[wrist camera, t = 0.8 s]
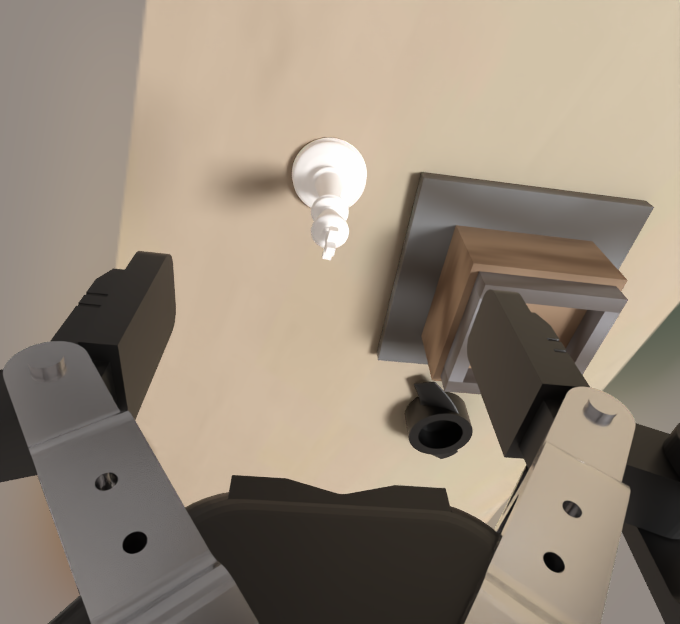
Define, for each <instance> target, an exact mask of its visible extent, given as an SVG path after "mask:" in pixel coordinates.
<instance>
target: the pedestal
mask: <svg viewBox="0 0 680 624" xmlns="http://www.w3.org/2000/svg"><path fill="white" fill-rule="evenodd" d="M653 208H654V207H653V206H652V205H650V204H649V203H648V202H647V201H642V200H634V199H626V198H619V197H611V196H603V195H595V194H588V193H580V192H572V191H564V190H556V189H549V188H541V187H533V186H525V185H518V184H510V183H502V182H494V181H487V180H479V179H471V178H463V177H456V176H448V175H440V174H432V173H424V172H421V176H420V180H419V184H418V188H417V192H416V197H415V201H414V205H413V209H412V213H411V217H410V221H409V225H408V229H407V233H406V237H405V241H404V245H403V249H402V253H401V257H400V261H399V265H398V269H397V273H396V277H395V282H394V286H393V290H392V294H391V298H390V302H389V306H388V310H387V314H386V318H385V322H384V326H383V330H382V334H381V338H380V342H379V346H378V350H377V356H378V360H383V361H395V362H406V363H418V364H428V366H429V370H430V374H431V378H432V380H434V381H442V383H443V387H444V391H447V392H459V393H472V394H481V393H480V390H479V387H478V385H477V382H476V379H475V377H474V374H473V371H472V368H471V366H470V363H469V360H468V357H467V342H468V337H469V334H470V331H471V328H472V326H473V323H474V320H475V318H476V315H477V312H478V310H479V307H480V304H481V301H482V299H483V296H484V294H485V293H486V291H487V290H489V289H492V290H502V291H511V292H518V293H519V294H520V295H521V296H522V298H523V300H524V301H525V303H526V305H527V306H528V308H529V310H530V311H531V312H533V313H536V314H538V315H539V316H540V317H541V318H542V319H544V320H545V321H546V322H547V323H548V324H549V325H551V327H552V328H553V330H554V331H555V333H556V335H557V336H558V338H559V342H562V344H563V346H564V347H565V349H566V353H569V355H570V357H571V358H572V360H573V361H574V363H575V364H576V366H577V368H578V369H579V371H580V372H581V374H582V375H583V373H584V371H585V370H586V368H587V367H588V365H589V363H590V362H591V360H592V358H593V357H594V355H595V353H596V352H597V350H598V348H599V347H600V345H601V344H602V342H603V340H604V339H605V337H606V335H607V334H608V332H609V330H610V329H611V327H612V326H613V324H614V322H615V321H616V319H617V317H618V316H619V314H620V312H621V311H622V309H623V308H624V306H625V304H626V303H627V301H628V299H627V298H626V297H625V296H624V295H623V293H622V292H621V291H622V289H623V287H624V285H625V284H626V282H627V279H626V278H625V277H624V276H623V275H622V274H621V272H620V271H619V268H620V266H621V264H622V263H623V261H624V259H625V257H626V256H627V254H628V252H629V250H630V248H631V247H632V245H633V243H634V241H635V240H636V238H637V236H638V234H639V233H640V231H641V229H642V227H643V226H644V224H645V222H646V220H647V219H648V217H649V215H650V213H651V212H652V210H653Z"/></svg>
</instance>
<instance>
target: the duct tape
mask: <svg viewBox="0 0 680 624" xmlns="http://www.w3.org/2000/svg"><path fill="white" fill-rule="evenodd" d="M414 386H415V388H416V390H417V392H418V395H419V397H417V398H415V399H414V400H413V401H412V402H411V403H410V404H409V405H408V406H407V408H406V411H405V418H406V424H407V430H408V437H409V441H410V444H411V445H412V446H413V447H414V448H415V449H416V450H418V451H420V452H423V453H426V454H431V455H434V456H436V457H438V458H440V459H443V458H447V457H449V456H452V455H454V454H455V453H456V452H458V451H457V450H458V449H460V448H461V447H463V446H464V445H465V444H466V443H467V442H468V441H469V440H470V438H471V436H472V426H471V423H470V419H469V416H468V413H467V409H466V406H465V403H464V401H463V400H462V399H461V398H460V397H459V396H457V395H455V394H453V393H450V392H444V391H443V390H442V389H441V387H440V386H439V385H438V384H437V383H436V382H423V383H417V384H414Z"/></svg>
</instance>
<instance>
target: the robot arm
mask: <svg viewBox="0 0 680 624" xmlns="http://www.w3.org/2000/svg"><path fill="white" fill-rule="evenodd" d="M175 315H176V303H175V288H174V273H173V261H172V257H171V255H170V254H162V253H153V252H144V251H138V252H136V254H135V255H134V257H133V258H132V260H131V261H130V263H129V264H128V266H127V267H126V269H125V270H122V269H112V270H110V271H109V272H107V273H105V274H104V275H102V276H100V277H99V278H97V279H96V280H95V281H94V283H93V284H92V285H91V287H90V288H89V289H88V291H87V293H86V295H84V296H83V298H82V299H81V300H80V302H79V305H78V306H76V307H75V308H74V310H73V311H72V313H71V314H70V315H69V317H68V318H67V319H66V321H65V322H64V323H63V325H62V326H61V327H60V329H59V330H58V331H57V333H56V334H55V336H54V337H53V338H52V340H51V341H50V342H44V343H40V344H36V345H33V346H30V347H28V348H26V349H24V350H22V351H20V352H18V353H17V354H15V355H14V356H13V357H12V358H11V359H10V360H9V361H8V362H7V363H6V365H5V367H4V369H3V370H0V482H4V481H9V480H14V479H19V478H24V477H29V476H34V475H38V478H39V481H40V484H41V487H42V489H43V492H44V495H45V498H46V501H47V503H48V506H49V509H50V512H51V515H52V518H53V520H54V523H55V526H56V529H57V532H58V535H59V537H60V540H61V543H62V546H63V549H64V552H65V554H66V557H67V560H68V563H69V566H70V569H71V571H72V574H73V577H74V580H75V583H76V586H77V589H78V591H79V594H80V596H79V597H78V598H77V599H75V600H74V601H73V602H72V603H71V604H70V605H68V606H67V607H66V608H65V609H64V610H63V611H62V612H60V613H59V614H58V615H57V616H56V617H55V618H54V619H53V620H51V621H50V622H49V623H48V624H601V621H602V616H603V612H604V607H605V603H606V599H607V594H608V590H609V585H610V581H611V577H612V572H613V567H614V563H615V559H616V554H617V550H618V545H619V541H620V537H621V532H622V533H623V535H624V537H625V539H626V541H627V543H628V546H629V548H630V550H631V552H632V554H633V556H634V558H635V560H636V563H637V565H638V567H639V569H640V571H641V573H642V575H643V577H644V580H645V582H646V584H647V586H648V588H649V590H650V592H651V594H652V596H653V599H654V601H655V603H656V605H657V607H658V609H659V611H660V613H661V616H662V618H663V620H664V622H665V624H680V423H679V424H678V425H677V426H676V427H675V429H674V430H673V431H672V433H671V434H668V433H665V432H662V431H659V430H655V429H652V428H649V427H646V426H643V425H639V424H636V423H635V420H634V417H633V415H632V414H631V412H630V411H629V410H628V408H627V407H626V406H625V405H623V403H621V402H620V401H619V400H617V399H616V398H614V397H613V396H611V395H609V394H607V393H605V392H603V391H601V390H598V389H595V388H590V386H589V385H588V383H587V382H586V380H585V378H584V377H583V375H582V374H581V372H580V371H579V369H578V368H577V366H576V364H575V363H574V361H573V360H572V358H571V357H570V355H569V353H566V349H565V347H564V346H563V344H562V342H559V338H558V336H557V335H556V333H555V331H554V330H553V328H552V327H551V325H549V324H548V323H547V322H546V321H545V320H544V319H542V318H541V317H540V316H539V315H538V314H536V313H533V312H531V311H530V310H529V308H528V306H527V305H526V303H525V301H524V300H523V298H522V296H521V295H520V294H519V293H518V292H511V291H502V290H492V289H489V290H487V291H486V293H485V294H484V296H483V299H482V301H481V304H480V307H479V310H478V312H477V315H476V318H475V320H474V323H473V326H472V328H471V331H470V334H469V337H468V342H467V357H468V360H469V363H470V366H471V368H472V371H473V374H474V377H475V379H476V382H477V385H478V387H479V390H480V393H481V395H482V398H483V401H484V403H485V406H486V409H487V412H488V414H489V417H490V420H491V422H492V425H493V428H494V430H495V433H496V436H497V439H498V441H499V444H500V447H501V449H502V452H503V455H504V457H508V458H523V459H524V460H525V462H526V467H525V468H524V470H523V472H522V474H521V476H520V478H519V480H518V482H517V484H516V486H515V488H514V490H513V492H512V494H511V496H510V498H509V500H508V503H507V504H506V507H505V509H504V511H503V513H502V515H501V517H500V519H499V521H498V523H497V525H496V527H495V529H492V528H491V527H490V526H488V525H487V524H485V523H484V522H482V521H481V520H479V519H478V518H476V517H474V516H472V515H470V514H468V513H466V512H464V511H462V510H459V509H457V508H454V507H451V506H450V505H449V501H448V497H447V492H446V488H431V487H414V486H398V485H394V486H388V487H383V488H377V489H372V490H366V491H361V492H355V493H350V494H337V493H333V492H330V491H327V490H323V489H320V488H317V487H313V486H310V485H307V484H303V483H300V482H296V481H293V480H290V479H286V478H270V477H254V476H238V475H232V479H231V484H230V490H229V492H227V493H222V494H217V495H214V496H211V497H207V498H204V499H202V500H200V501H197V502H195V503H193V504H191V505H189V506H187V507H184V505H183V503H182V502H181V500H180V498H179V496H178V495H177V493H176V491H175V489H174V488H173V486H172V484H171V482H170V481H169V479H168V477H167V475H166V474H165V472H164V470H163V468H162V467H161V465H160V463H159V461H158V460H157V458H156V456H155V455H154V453H153V451H152V449H151V448H150V446H149V444H148V442H147V441H146V439H145V437H144V435H143V434H142V432H141V430H140V428H139V427H138V425H137V423H136V421H135V419H136V417H137V414H138V412H139V410H140V407H141V405H142V403H143V400H144V398H145V395H146V393H147V391H148V388H149V386H150V383H151V381H152V379H153V376H154V374H155V371H156V369H157V367H158V364H159V362H160V360H161V357H162V355H163V352H164V350H165V348H166V345H167V343H168V340H169V338H170V336H171V333H172V331H173V327H174V323H175Z"/></svg>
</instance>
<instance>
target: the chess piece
mask: <svg viewBox="0 0 680 624" xmlns="http://www.w3.org/2000/svg"><path fill="white" fill-rule="evenodd" d="M366 178H367V170H366V165H365V162H364V159H363V157H362V155H361V154H360V153H359V151H358V150H357V149H356V148H355V147H354V146H352V145H351V144H350V143H348V142H346V141H344V140H341V139H337V138H321V139H317V140H315V141H312V142H310V143H309V144H307V145H306V146H305V147H303V148H302V149H301V151H300V152H299V153H298V155H297V156H296V158H295V160H294V163H293V167H292V181H293V185H294V188H295V191H296V193H297V195H298V196H299V198H300V199H301V200H302V201H303V202H304V203H305V204H306V205H307V206H309V207H310V208H311V216H312V219H313V221H314V222H313V224H312V227H311V235H312V238H313V240H314V241H315V243H316V244H317V245H319V246H321V247H323V248H324V250H323V254H322V259H327V260H331V257H332V256H334V253H335V249H336V248H337V247H339V246H341V245H342V244H344V243H345V241H346V240H347V238H348V235H349V228H348V225H347V223H346V220H347V217H348V208H349V207H350V206H352V205H353V204H354V203H355V202H356V201H357V200H358V199H359V198H360V196H361V195H362V193H363V190H364V188H365V184H366Z"/></svg>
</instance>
